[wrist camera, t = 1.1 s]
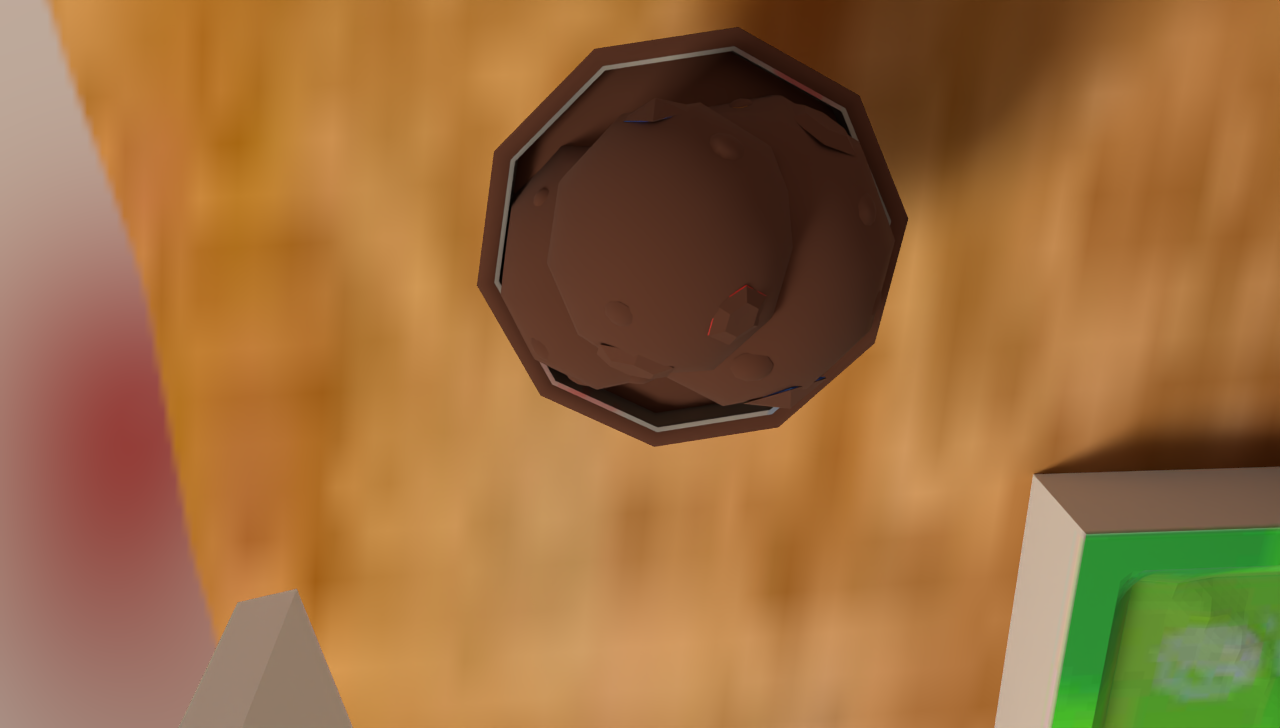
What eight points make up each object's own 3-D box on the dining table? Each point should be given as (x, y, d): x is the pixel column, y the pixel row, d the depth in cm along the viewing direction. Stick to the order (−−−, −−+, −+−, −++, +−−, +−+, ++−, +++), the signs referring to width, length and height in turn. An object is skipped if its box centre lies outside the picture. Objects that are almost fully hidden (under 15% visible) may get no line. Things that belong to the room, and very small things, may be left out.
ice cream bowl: (483, 308, 38) (437, 527, 24) (526, -27, 34) (503, 0, 20) (777, 350, 39) (898, 581, 25) (852, 33, 35) (1044, 97, 21)
